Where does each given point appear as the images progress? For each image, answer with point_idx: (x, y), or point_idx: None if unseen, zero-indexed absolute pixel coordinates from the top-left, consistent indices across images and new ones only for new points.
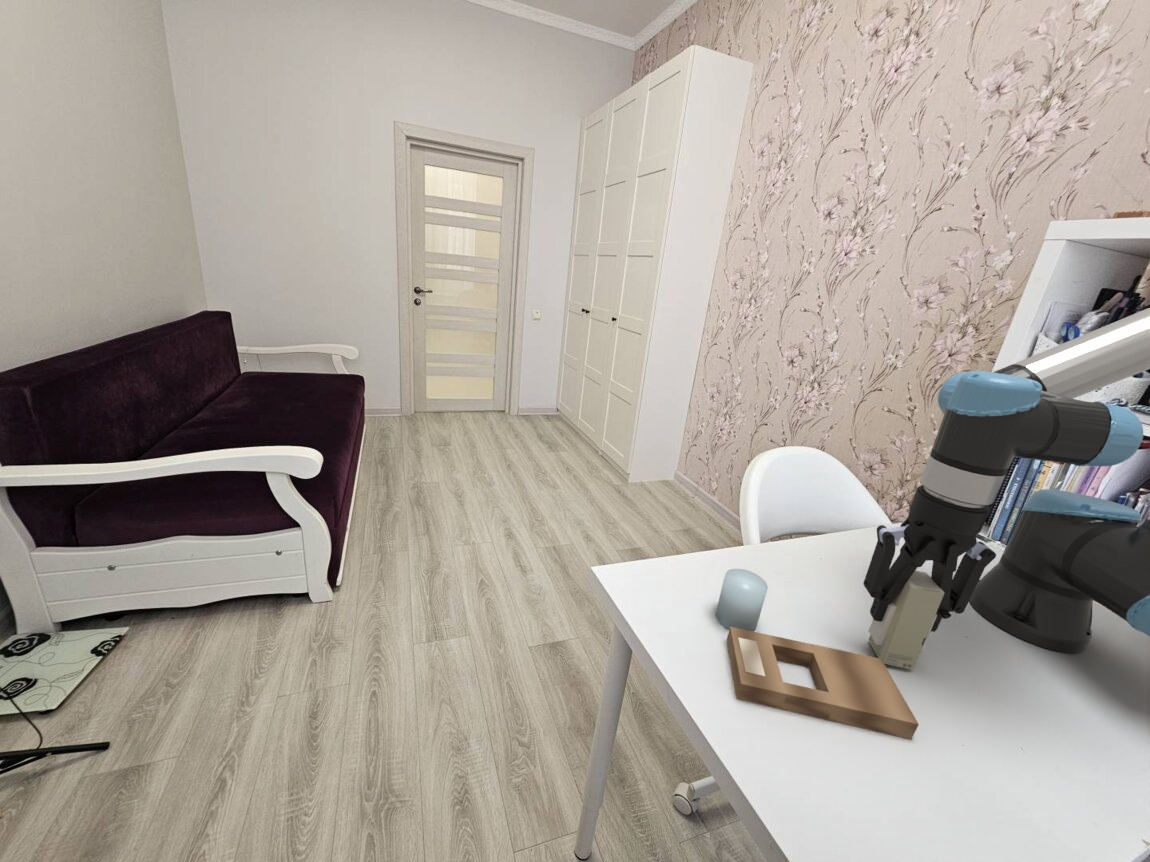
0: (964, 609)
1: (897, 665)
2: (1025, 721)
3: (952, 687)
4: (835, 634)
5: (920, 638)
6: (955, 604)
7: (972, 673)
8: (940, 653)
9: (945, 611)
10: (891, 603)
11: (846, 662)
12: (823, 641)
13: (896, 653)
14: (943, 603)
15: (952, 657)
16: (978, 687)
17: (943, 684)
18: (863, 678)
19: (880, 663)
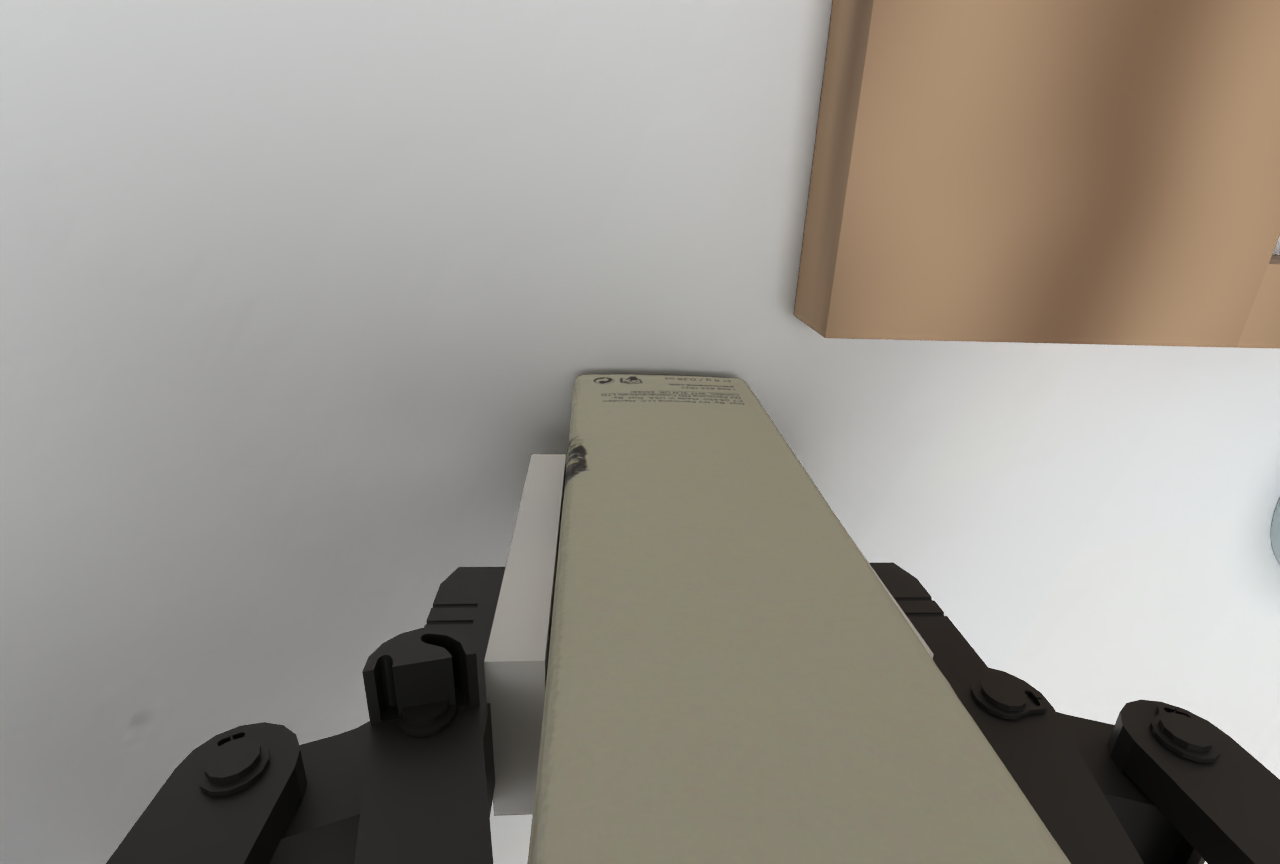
0: (165, 787)
1: (666, 376)
2: (42, 159)
3: (382, 322)
4: (870, 542)
5: (607, 469)
6: (268, 832)
7: (214, 463)
8: (337, 562)
9: (405, 713)
10: None
11: (1091, 236)
12: (968, 473)
13: (704, 405)
14: (430, 807)
15: (280, 551)
16: (224, 363)
17: (426, 331)
18: (1062, 109)
19: (852, 293)
